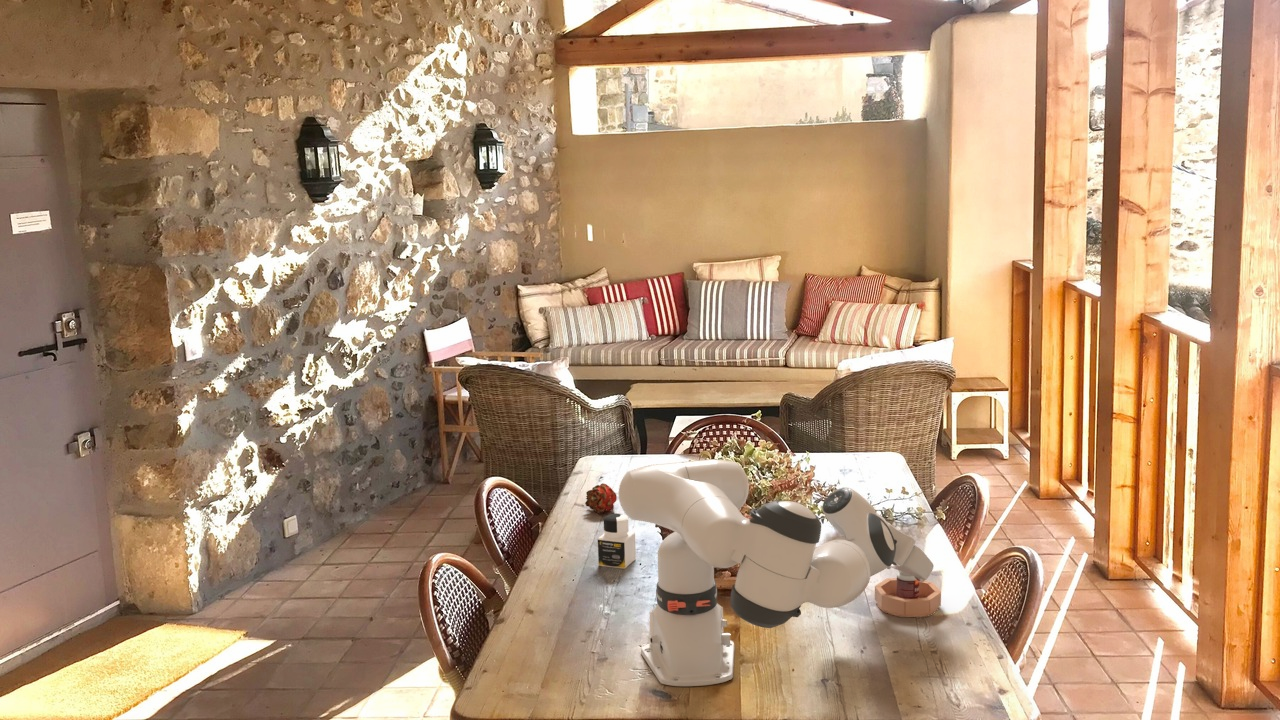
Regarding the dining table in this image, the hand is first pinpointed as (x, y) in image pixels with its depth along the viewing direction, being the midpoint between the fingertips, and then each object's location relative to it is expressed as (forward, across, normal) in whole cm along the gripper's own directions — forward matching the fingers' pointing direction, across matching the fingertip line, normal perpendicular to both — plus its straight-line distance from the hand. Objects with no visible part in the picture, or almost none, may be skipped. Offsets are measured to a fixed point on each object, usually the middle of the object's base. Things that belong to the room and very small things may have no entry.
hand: (905, 572), depth 237 cm
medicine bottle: (-18, -62, -30) cm, 71 cm away
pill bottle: (+5, 0, -5) cm, 7 cm away
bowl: (+6, 0, -5) cm, 8 cm away
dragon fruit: (-5, -98, -16) cm, 100 cm away
